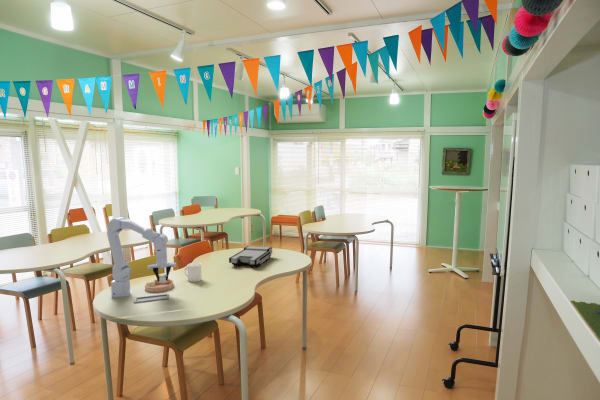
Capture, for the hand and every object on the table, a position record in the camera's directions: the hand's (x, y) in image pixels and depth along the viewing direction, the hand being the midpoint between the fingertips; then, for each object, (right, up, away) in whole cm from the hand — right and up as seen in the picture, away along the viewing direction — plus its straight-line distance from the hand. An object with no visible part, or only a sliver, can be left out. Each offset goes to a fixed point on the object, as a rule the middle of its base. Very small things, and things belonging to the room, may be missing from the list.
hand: (162, 280), depth 206 cm
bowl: (-6, -7, +12) cm, 16 cm away
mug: (+9, -6, +27) cm, 29 cm away
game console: (+41, -1, +66) cm, 78 cm away
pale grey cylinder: (0, -1, 0) cm, 1 cm away
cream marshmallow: (-11, -7, +10) cm, 16 cm away
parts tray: (-4, -9, -6) cm, 12 cm away
